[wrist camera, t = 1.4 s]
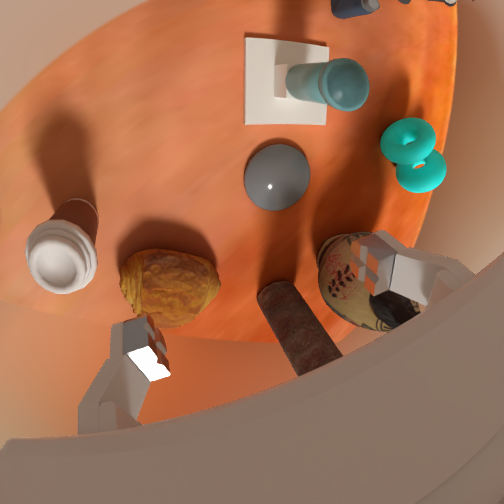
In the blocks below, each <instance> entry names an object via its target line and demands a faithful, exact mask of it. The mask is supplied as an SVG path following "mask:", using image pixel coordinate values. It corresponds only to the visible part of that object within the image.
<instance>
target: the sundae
mask: <svg viewBox="0 0 504 504" xmlns="http://www.w3.org/2000/svg"><path fill="white" fill-rule="evenodd" d="M399 1H400V2H401V3H403V4H408V3H410V1H411V0H399ZM428 1H439V2H444V3H445V4H446V5H447V6H450V7H451V6H454V5H455V4H456V2H457V0H428ZM473 1H474V0H473Z"/></svg>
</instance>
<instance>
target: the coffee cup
mask: <svg viewBox="0 0 504 504" xmlns="http://www.w3.org/2000/svg"><path fill="white" fill-rule="evenodd" d="M98 224H99V219H98V213H97V211H96V209H95V207H94V206H93V205H92V204H91V203H90V202H89V201H86V200H84V199H82V198H72V199H70V200H68V201H66V202H64V204H63V205H62V206H61V207H60V208H59V209H58V210H57V211H56V213H55V214H54V215H53V216H52V217H51V218H50V219H49V220H47V221H45V222H43V223H41V224H39V225H37V226H36V227H35V229H34V230H33V232H32V233H31V234H30V236H29V237H28V239H27V244H26V250H25V254H26V259H27V263H28V267H29V268H30V272H31V274H32V276H33V277H34V279H35V280H36V282H37V283H38V284H40V285H41V286H42V287H43V288H44V289H46V290H48V291H51V292H53V293H56V294H68V293H71V292H74V291H76V290H79V289H82V288H84V287H85V286H86V285H87V284H88V283H89V282H90V281H91V280H92V279H93V277H94V274H95V271H96V268H97V264H98V262H97V252H96V248H95V241H96V235H97V229H98Z"/></svg>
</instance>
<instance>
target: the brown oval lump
mask: <svg viewBox="0 0 504 504" xmlns="http://www.w3.org/2000/svg"><path fill="white" fill-rule="evenodd" d="M120 278H121V279H120V283H119V284H120V288H121V291H122V293H123V295H124V297H125V299H126V300H127V301H128V302H129V303H130V304H132V307H133V312H134V313H137V314H138V315H137V317H139V316H143V315H146V314H149V315H150V316H151V317H152V319H153V320H154V327H156V328H161V329H167V328H177V327H180V326H182V325H184V324H186V323H188V322H191V321H193V320H194V318H195V316H197V315H199V314H200V312H202V311H203V309H204V308H205V307H206V306H207V305H208V304H209V303H210V301H211V300H212V299H214V298H215V296H216V295H217V293H218V291H219V289H220V287H221V283H220V280H219V275H218V272H217V271H216V270H215V267H214V266H213V265H212V264H211V262H210V261H209V260H207V259H205V258H204V257H199V256H194V255H192V254H187V253H181V252H179V251H171V250H164V249H147V250H142V251H140V252H136V253H135V254H133V255H132V256H131V257H129V258H128V259H127V261H126V264H125V266H122V268H121V269H120Z"/></svg>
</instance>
